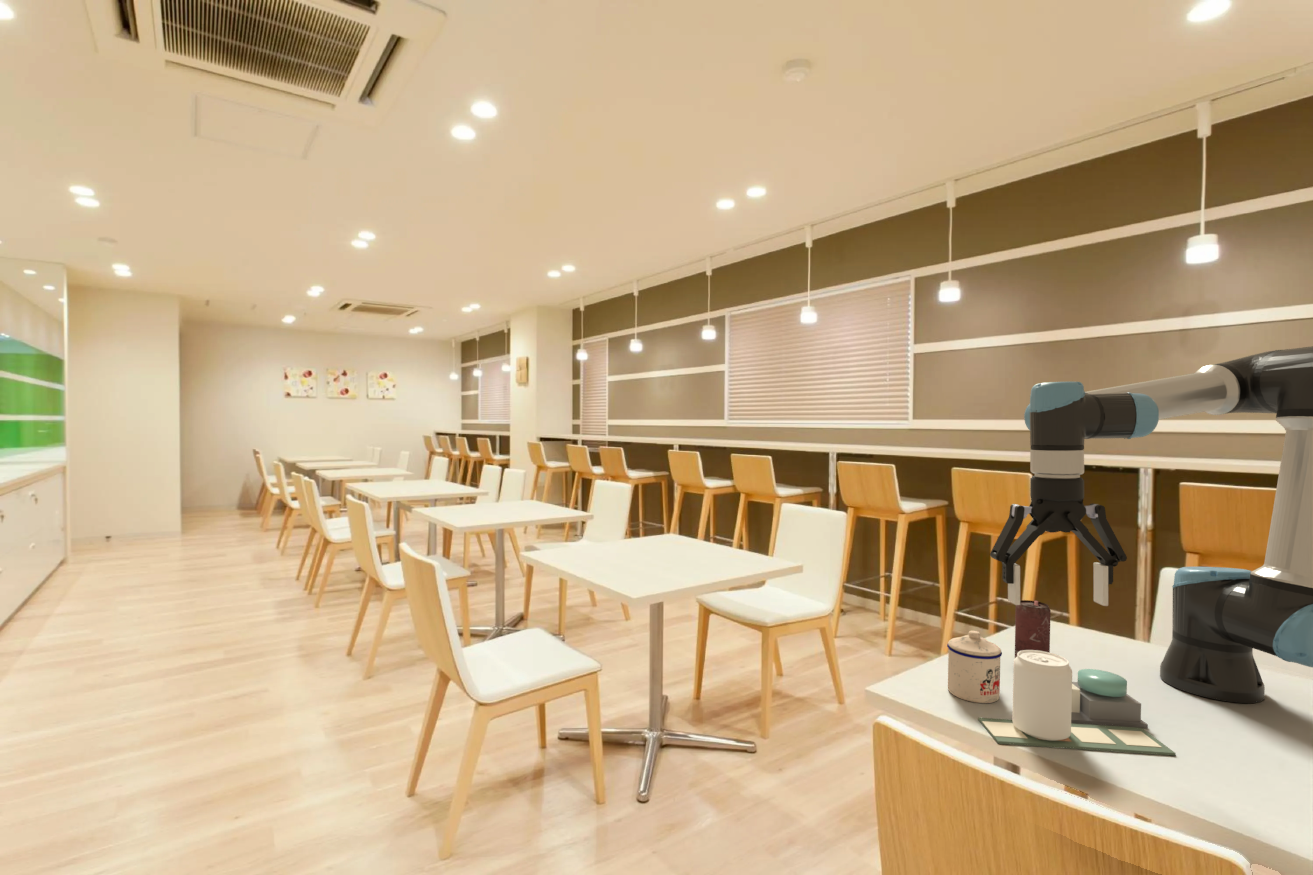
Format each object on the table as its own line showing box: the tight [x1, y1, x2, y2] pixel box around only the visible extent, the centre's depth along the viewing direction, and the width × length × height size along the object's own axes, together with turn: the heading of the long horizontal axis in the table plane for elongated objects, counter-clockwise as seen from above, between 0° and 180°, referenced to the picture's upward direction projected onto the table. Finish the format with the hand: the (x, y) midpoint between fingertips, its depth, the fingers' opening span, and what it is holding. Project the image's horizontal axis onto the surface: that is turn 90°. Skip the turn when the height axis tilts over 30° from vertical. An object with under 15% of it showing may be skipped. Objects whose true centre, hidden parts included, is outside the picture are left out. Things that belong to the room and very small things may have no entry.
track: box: [977, 717, 1177, 757], centre depth 101 cm, size 26×8×1 cm, turn 83°
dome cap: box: [1077, 668, 1128, 697], centre depth 110 cm, size 7×7×5 cm
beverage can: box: [1011, 650, 1073, 741], centre depth 102 cm, size 8×8×12 cm
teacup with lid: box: [946, 630, 1003, 704], centre depth 118 cm, size 12×9×12 cm
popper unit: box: [1071, 681, 1149, 729], centre depth 110 cm, size 14×10×5 cm
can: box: [1014, 599, 1052, 659], centre depth 128 cm, size 6×6×14 cm
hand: (1057, 603), depth 104 cm, fingers open, 13 cm apart
